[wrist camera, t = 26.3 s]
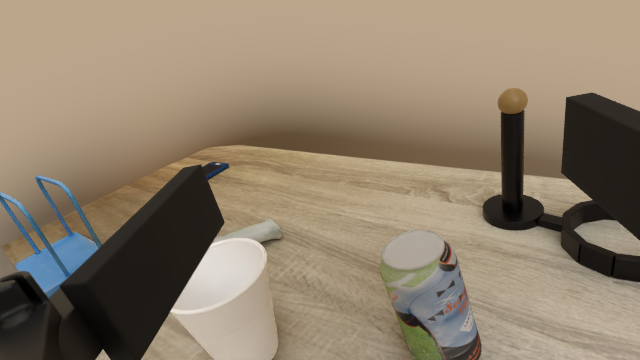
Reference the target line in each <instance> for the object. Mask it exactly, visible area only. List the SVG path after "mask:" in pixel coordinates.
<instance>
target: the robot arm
mask: <svg viewBox="0 0 640 360" xmlns="http://www.w3.org/2000/svg"><path fill="white" fill-rule="evenodd" d="M565 110H566V111H565V124H564V140H563V155H562V170H561V173H562V174H564V175H565V176H566V177H567V178H568V179H569V180H570V181H572V182H573V183H574V184H575V185H576V186H577V187H579V188H580V189H581V190H582V191H583V192H584V193H586V194H587V195H588V196H589V197H590V198H591V199H593V200H594V201H595V202H596V203H597V204H598V205H599V206H601V207H602V208H603V209H604V210H605V211H606V212H608V213H609V214H610V215H611V216H612V217H613V218H615V219H616V220H617V221H618V222H619V223H620V224H622V225H623V226H624V227H625V228H626V229H627V230H628V231H630V232H631V233H632V234H633V235H634V236H635V237H637V238H638V239H639V240H640V111H637V110H635V109H632V108H630V107H627V106H625V105H622V104H620V103H617V102H615V101H612V100H610V99H607V98H605V97H602V96H600V95H597V94H595V93H588V94H582V95H577V96H571V97H567V98H566V109H565ZM224 223H225V222H224V219H223V217H222V215H221V212H220V210H219V207H218V205H217V202H216V200H215V197H214V195H213V192H212V190H211V188H210V185H209V183H208V180H207V178H206V175H205V173H204V170H203V168H202V165H196V166H190V167H185V168H183V169H182V170H181V171H180V172H179V173H178V174H177V175H176V176H174V177H173V178H172V179H171V180H170V181H169V182H168V183H167V184H166V185H165V186H164V187H163V188H162V189H161V190H160V191H159V192H158V193H157V194H156V195H154V196H153V197H152V198H151V199H150V200H149V201H148V202H147V203H146V204H145V205H144V206H143V207H142V208H141V209H140V210H139V211H138V212H137V213H136V214H134V215H133V216H132V217H131V218H130V219H129V220H128V221H127V222H126V223H125V224H124V225H123V226H122V227H121V228H120V229H119V230H118V231H117V232H116V233H115V234H113V235H112V236H111V237H110V238H109V239H108V240H107V241H106V242H105V243H104V244H103V245H102V246H101V247H100V248H99V249H98V250H97V251H96V252H95V253H93V254H92V255H91V256H90V257H89V258H88V259H87V260H86V261H85V262H84V263H83V264H82V265H81V266H80V267H79V268H78V269H77V270H76V271H75V272H73V273H72V274H71V275H70V276H69V277H68V278H67V279H66V280H65V281H64V282H63V283H62V284H61V285H60V286H59V287H60V288H59V289H58V290H57V291H55V292H54V293H53V294H52V295H51V296H50V297H49V298H48V297H47V295H46V294H45V293H44V291H43V290H42V289H41V287H40V286H39V284H38V283H37V282H36V280H35V279H34V278H33V276H32V275H31V274H30V272H27V271H20V272H16V273H12V274H10V275H7V276H4V277H2V278H0V360H95V359H96V358H97V356H98V355H99V354H100V352H101V351H102V350H103V349H104V351H105V352H106V354H107V355H108V356H109V358H110V359H111V360H141V359H142V357H143V355H144V354H145V352H146V350H147V349H148V347H149V345H150V344H151V342H152V341H153V339H154V337H155V336H156V334H157V332H158V331H159V329H160V327H161V326H162V324H163V323H164V321H165V319H166V318H167V316H168V314H169V313H170V311H171V309H172V308H173V306H174V304H175V303H176V301H177V300H178V298H179V296H180V295H181V293H182V291H183V290H184V288H185V286H186V285H187V283H188V282H189V280H190V278H191V277H192V275H193V273H194V272H195V270H196V268H197V267H198V265H199V264H200V262H201V260H202V259H203V257H204V255H205V254H206V252H207V250H208V249H209V247H210V246H211V244H212V242H213V241H214V239H215V237H216V236H217V234H218V232H219V231H220V229H221V228H222V226H223V224H224Z"/></svg>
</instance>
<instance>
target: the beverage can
mask: <svg viewBox="0 0 640 360" xmlns="http://www.w3.org/2000/svg"><path fill="white" fill-rule="evenodd" d="M380 273H381V276H382V279H383V281H384V284H385V287H386V289H387V292H388V295H389V297H390V300H391V302H392V305H393V308H394V310H395V313H396V316H397V318H398V321H399V323H400V326H401V329H402V331H403V334H404V337H405V339H406V342H407V344H408V347H409V350H410V352H411V355H412V357H413V360H478V359H479V357H480V354H481V341H480V337H479V334H478V330H477V327H476V323H475V320H474V316H473V313H472V309H471V306H470V302H469V299H468V295H467V292H466V288H465V285H464V281H463V278H462V274H461V271H460V267H459V264H458V260H457V257H456V254H455V252H454V250H453V248H452V247H451V246H450V245H449V244H448V243H446V242H445V241H444V240H443V238H442V237H441V236H440V235H439V234H438V233H436V232H434V231H430V230H412V231H408V232H404V233H402V234H399V235H397V236H395V237H394V238H392V239H391V240H390V241H388V242H387V244H386V245H385V246H384V248H383V250H382V260H381V264H380Z"/></svg>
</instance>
